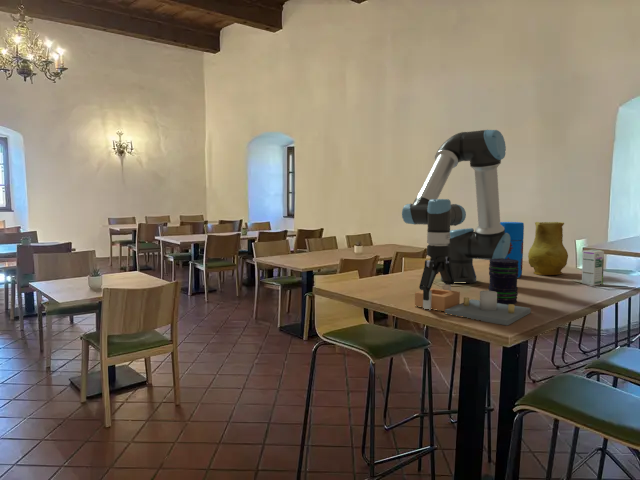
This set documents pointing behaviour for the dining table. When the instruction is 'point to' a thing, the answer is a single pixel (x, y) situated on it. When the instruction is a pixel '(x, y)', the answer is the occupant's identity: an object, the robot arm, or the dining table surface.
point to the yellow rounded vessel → (548, 249)
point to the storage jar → (504, 280)
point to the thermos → (515, 242)
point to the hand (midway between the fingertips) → (437, 306)
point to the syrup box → (592, 267)
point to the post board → (489, 315)
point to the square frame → (439, 299)
